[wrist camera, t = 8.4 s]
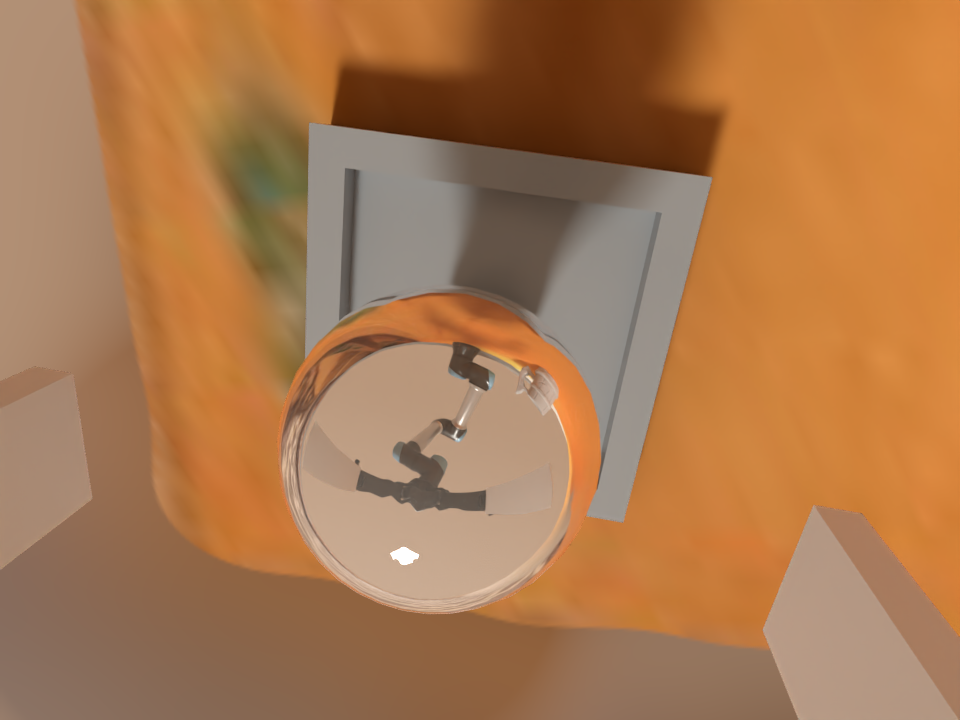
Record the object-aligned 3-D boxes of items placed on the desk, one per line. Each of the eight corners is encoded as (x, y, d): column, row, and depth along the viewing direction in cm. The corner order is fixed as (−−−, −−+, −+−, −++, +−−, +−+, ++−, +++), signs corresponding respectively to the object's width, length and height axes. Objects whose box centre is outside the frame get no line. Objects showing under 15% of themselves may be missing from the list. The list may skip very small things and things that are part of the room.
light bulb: (513, 451, 22) (472, 757, 11) (357, 355, 22) (147, 576, 10) (623, 303, 20) (714, 506, 9) (451, 191, 19) (308, 251, 8)
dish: (330, 124, 20) (309, 122, 18) (698, 174, 19) (712, 177, 17) (320, 442, 24) (303, 464, 23) (618, 495, 23) (623, 522, 22)
